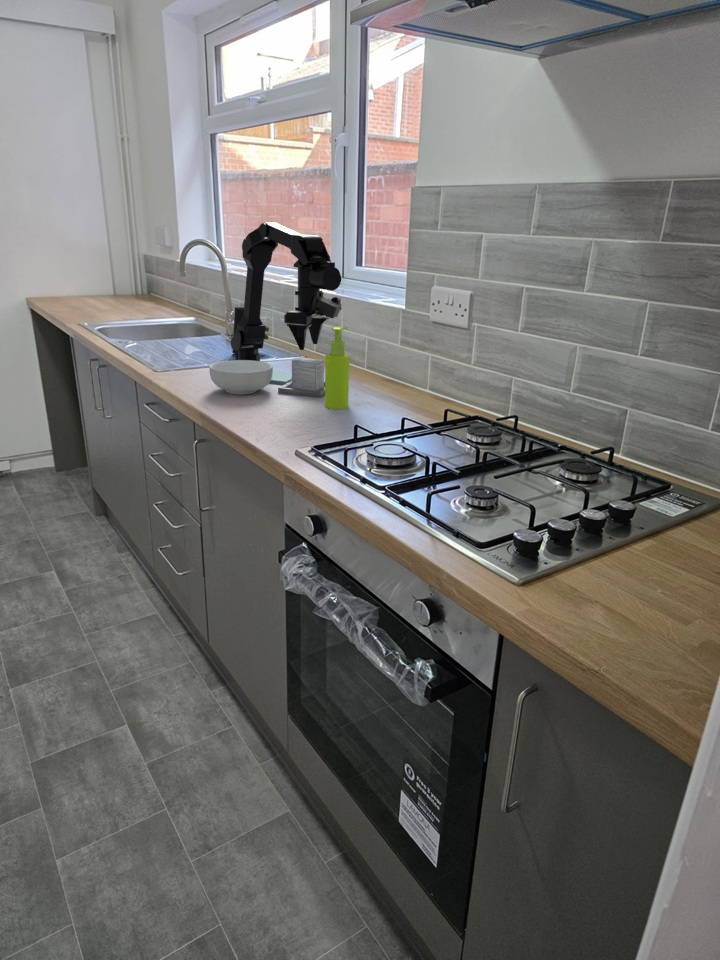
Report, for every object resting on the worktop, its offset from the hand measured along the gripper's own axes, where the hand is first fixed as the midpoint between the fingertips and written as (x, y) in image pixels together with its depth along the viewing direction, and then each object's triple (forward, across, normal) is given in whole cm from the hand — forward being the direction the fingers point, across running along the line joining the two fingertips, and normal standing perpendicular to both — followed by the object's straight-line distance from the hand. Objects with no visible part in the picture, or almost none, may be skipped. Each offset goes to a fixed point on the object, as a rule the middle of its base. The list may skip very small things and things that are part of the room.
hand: (308, 346), depth 175 cm
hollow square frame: (+12, 0, 0) cm, 12 cm away
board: (+12, +9, +14) cm, 20 cm away
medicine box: (+12, 0, 0) cm, 12 cm away
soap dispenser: (+12, -12, -13) cm, 21 cm away
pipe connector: (+12, +38, +38) cm, 55 cm away
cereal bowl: (+12, -8, +16) cm, 22 cm away
